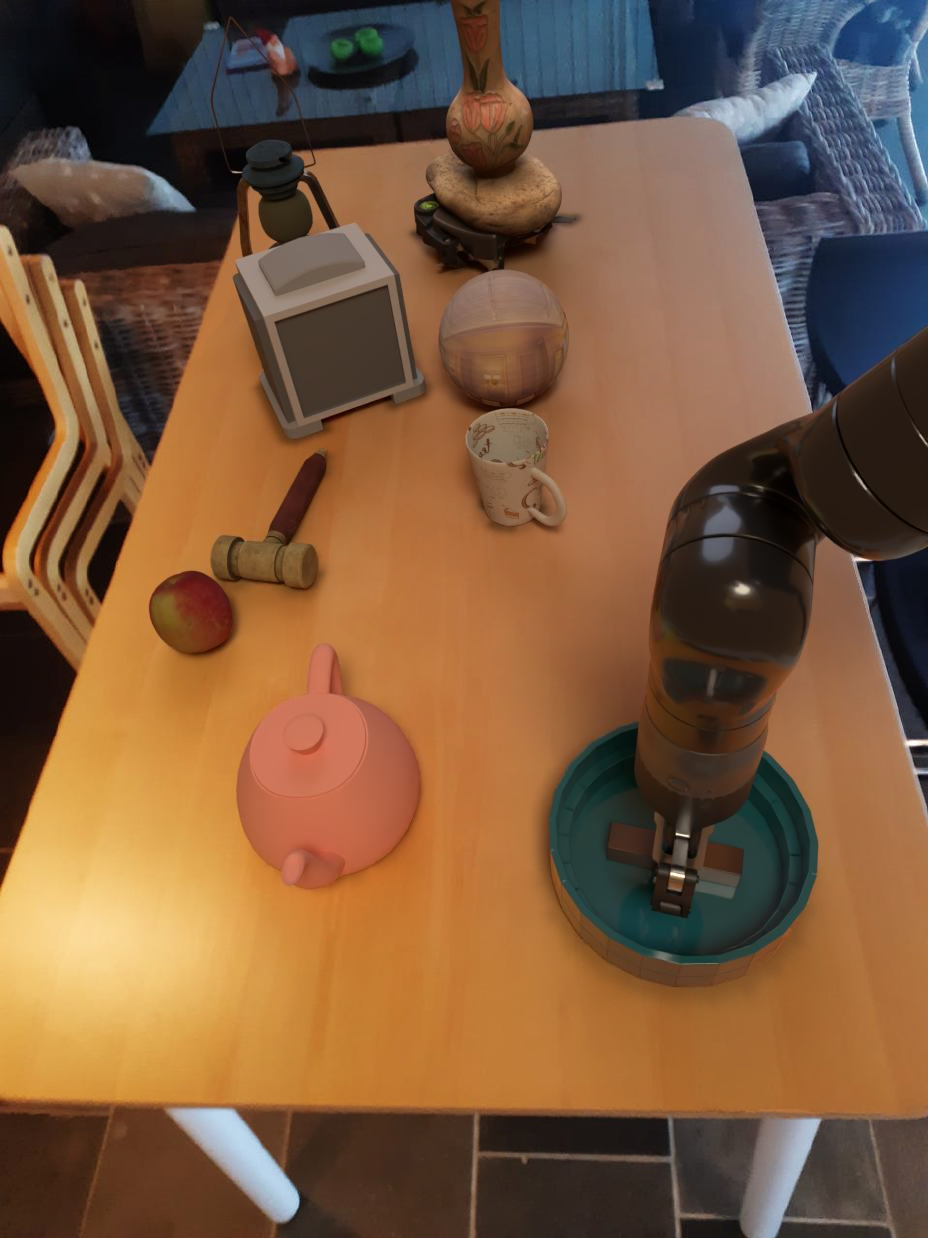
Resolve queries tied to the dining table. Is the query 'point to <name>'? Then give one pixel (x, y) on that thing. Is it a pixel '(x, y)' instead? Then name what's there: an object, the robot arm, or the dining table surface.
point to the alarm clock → (327, 327)
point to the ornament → (503, 338)
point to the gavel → (275, 539)
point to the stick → (639, 844)
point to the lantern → (277, 186)
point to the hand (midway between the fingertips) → (676, 847)
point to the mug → (512, 466)
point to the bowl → (720, 914)
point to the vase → (486, 157)
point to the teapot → (326, 782)
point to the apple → (191, 612)
